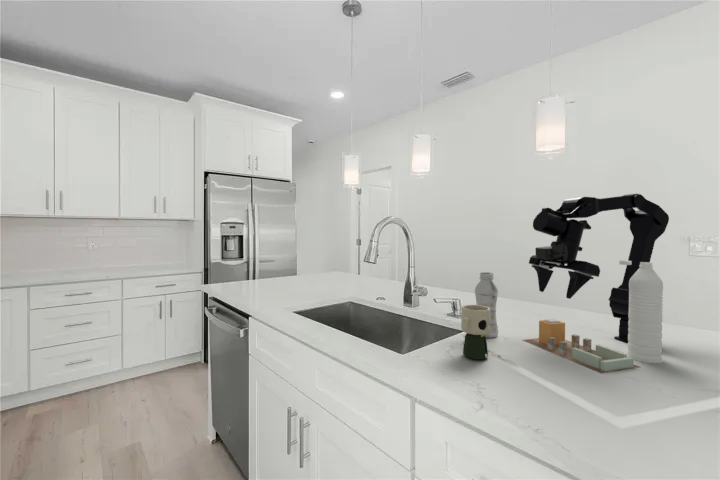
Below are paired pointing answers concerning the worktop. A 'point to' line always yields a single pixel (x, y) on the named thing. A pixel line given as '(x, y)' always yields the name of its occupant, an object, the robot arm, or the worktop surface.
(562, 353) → the board
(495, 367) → the worktop surface
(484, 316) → the character mug
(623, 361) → the bracket
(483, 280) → the plastic bottle
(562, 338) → the orange upright block
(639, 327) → the water bottle
